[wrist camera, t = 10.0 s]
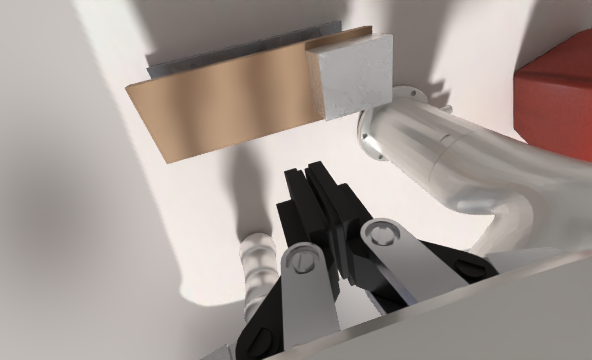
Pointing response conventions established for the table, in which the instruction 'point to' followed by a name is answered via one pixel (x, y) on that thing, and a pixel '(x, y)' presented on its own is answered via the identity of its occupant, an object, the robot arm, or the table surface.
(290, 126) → the balance beam
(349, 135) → the table surface
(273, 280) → the plastic bottle
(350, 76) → the block
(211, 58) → the beam stand
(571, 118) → the plant pot
